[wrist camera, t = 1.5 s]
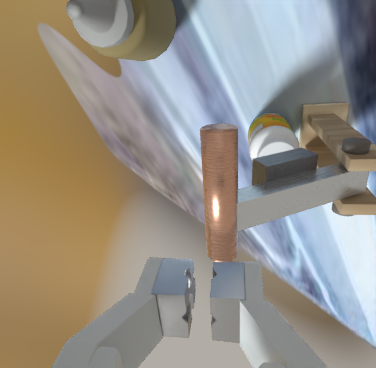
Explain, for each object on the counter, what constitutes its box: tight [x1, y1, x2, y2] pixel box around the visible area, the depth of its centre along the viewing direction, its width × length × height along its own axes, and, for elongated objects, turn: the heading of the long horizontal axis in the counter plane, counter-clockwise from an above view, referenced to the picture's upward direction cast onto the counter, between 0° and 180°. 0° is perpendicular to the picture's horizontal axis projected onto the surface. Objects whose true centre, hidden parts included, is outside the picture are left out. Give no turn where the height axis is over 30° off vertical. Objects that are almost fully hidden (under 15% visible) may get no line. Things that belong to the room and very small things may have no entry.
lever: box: [200, 123, 369, 261], centre depth 23 cm, size 10×15×4 cm
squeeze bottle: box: [66, 0, 177, 61], centre depth 27 cm, size 8×8×18 cm
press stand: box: [299, 103, 376, 216], centre depth 30 cm, size 7×5×16 cm
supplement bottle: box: [248, 113, 299, 161], centre depth 34 cm, size 5×5×10 cm
